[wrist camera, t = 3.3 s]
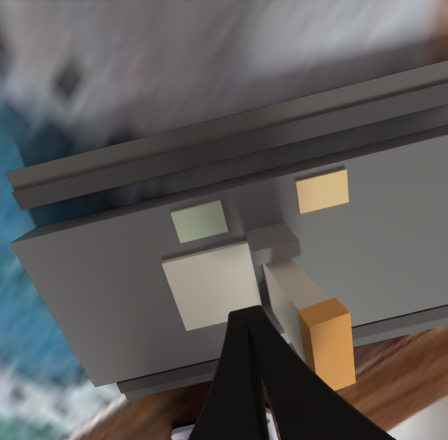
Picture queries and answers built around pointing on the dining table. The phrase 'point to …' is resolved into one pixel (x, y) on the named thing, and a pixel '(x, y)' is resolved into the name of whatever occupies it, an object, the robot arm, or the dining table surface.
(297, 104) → the long dark grey rail
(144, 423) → the dining table surface
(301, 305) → the breaker lever
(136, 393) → the thin grey bar
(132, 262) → the toggle switch panel
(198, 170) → the dining table surface
